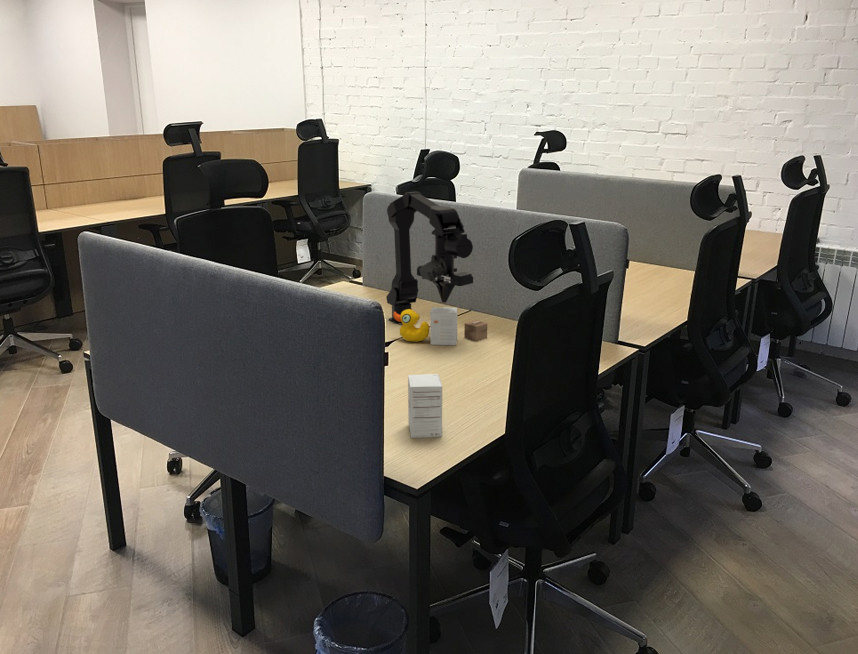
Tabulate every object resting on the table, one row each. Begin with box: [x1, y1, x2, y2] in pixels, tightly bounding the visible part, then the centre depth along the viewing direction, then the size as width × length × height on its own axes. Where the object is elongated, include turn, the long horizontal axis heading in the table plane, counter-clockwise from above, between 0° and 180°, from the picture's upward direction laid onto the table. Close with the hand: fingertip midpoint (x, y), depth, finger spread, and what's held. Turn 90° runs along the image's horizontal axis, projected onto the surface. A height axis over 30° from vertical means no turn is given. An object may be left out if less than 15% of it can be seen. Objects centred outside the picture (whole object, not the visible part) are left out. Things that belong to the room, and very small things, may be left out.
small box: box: [429, 306, 458, 346], centre depth 228 cm, size 8×6×10 cm
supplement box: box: [407, 373, 443, 439], centre depth 170 cm, size 7×7×13 cm
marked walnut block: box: [463, 319, 488, 343], centre depth 233 cm, size 5×5×5 cm
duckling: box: [393, 309, 430, 343], centre depth 229 cm, size 11×5×10 cm, turn 75°
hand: (444, 302), depth 225 cm, fingers closed
